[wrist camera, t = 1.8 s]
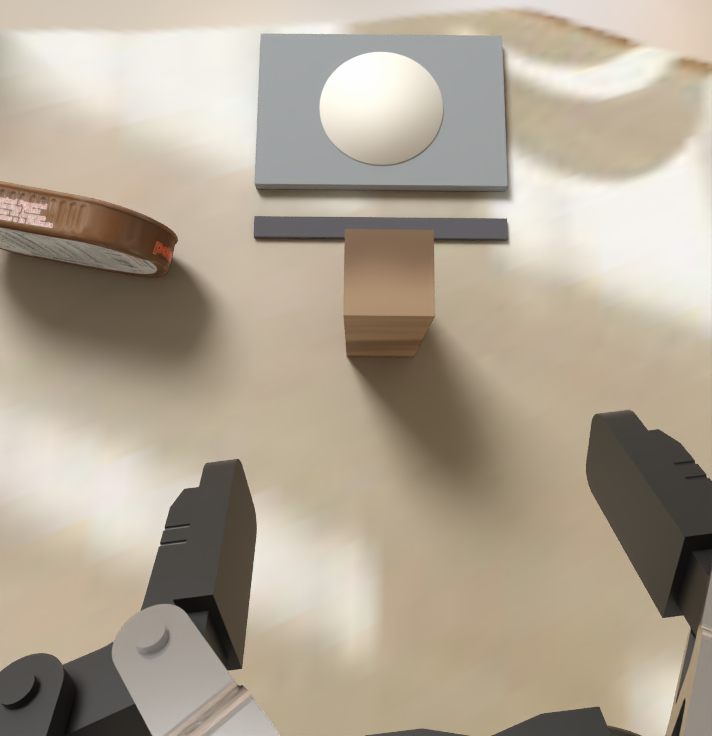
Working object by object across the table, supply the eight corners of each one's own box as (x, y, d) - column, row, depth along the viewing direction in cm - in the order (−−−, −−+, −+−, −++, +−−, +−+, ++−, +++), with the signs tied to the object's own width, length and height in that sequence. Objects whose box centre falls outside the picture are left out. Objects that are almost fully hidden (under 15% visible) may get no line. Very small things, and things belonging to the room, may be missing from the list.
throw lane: (506, 240, 42) (509, 235, 41) (254, 237, 42) (252, 232, 41) (499, 43, 44) (502, 35, 43) (262, 41, 44) (260, 32, 43)
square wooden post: (413, 356, 40) (434, 316, 29) (346, 356, 40) (343, 315, 29) (413, 292, 41) (433, 229, 30) (347, 292, 41) (344, 229, 30)
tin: (193, 251, 42) (153, 198, 33) (183, 293, 41) (139, 249, 33) (-10, 214, 42) (-100, 152, 34) (-23, 255, 42) (-117, 202, 33)
